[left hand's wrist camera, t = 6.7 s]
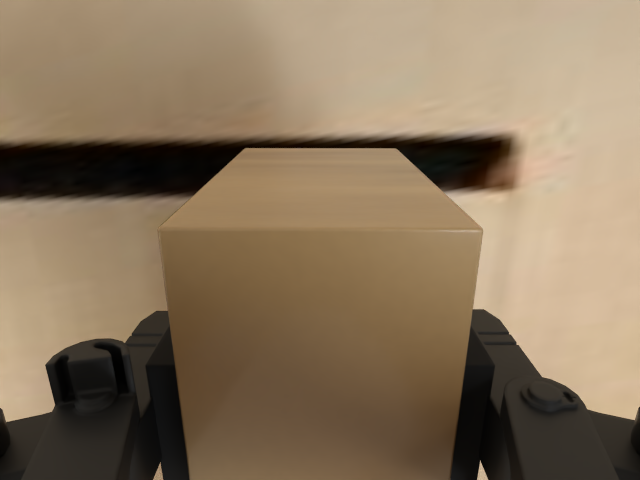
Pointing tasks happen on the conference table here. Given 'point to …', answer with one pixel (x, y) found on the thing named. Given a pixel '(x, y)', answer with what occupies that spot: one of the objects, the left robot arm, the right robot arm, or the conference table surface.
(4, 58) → the conference table surface
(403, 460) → the bar
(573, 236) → the conference table surface
